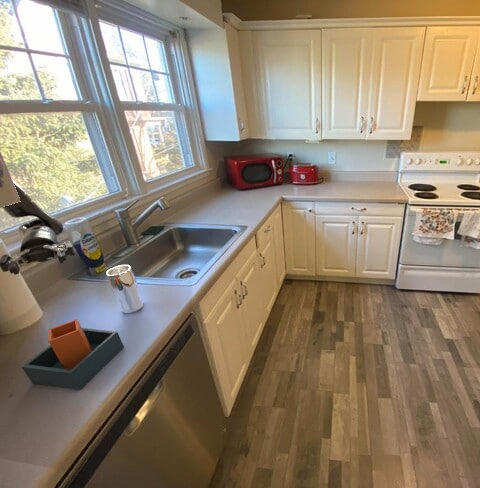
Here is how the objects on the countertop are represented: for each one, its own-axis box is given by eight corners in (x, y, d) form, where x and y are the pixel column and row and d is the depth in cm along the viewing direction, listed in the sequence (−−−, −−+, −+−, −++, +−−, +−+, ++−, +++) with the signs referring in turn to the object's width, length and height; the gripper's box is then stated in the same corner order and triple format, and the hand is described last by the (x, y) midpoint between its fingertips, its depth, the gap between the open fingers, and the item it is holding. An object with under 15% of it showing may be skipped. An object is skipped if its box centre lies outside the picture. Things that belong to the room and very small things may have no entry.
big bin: (32, 383, 69) (20, 366, 67) (82, 342, 81) (74, 327, 79) (80, 389, 67) (70, 373, 65) (124, 347, 79) (117, 331, 77)
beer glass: (119, 316, 91) (102, 277, 85) (123, 304, 97) (108, 267, 90) (143, 311, 94) (129, 272, 87) (146, 299, 99) (133, 262, 93)
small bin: (67, 374, 70) (48, 341, 66) (66, 360, 74) (48, 329, 69) (95, 362, 74) (78, 330, 69) (92, 349, 78) (77, 318, 73)
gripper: (-2, 240, 76) (-11, 261, 65) (66, 227, 84) (69, 243, 73) (11, 264, 79) (5, 288, 68) (76, 249, 87) (80, 268, 77)
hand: (38, 265), depth 71 cm, fingers open, 8 cm apart
